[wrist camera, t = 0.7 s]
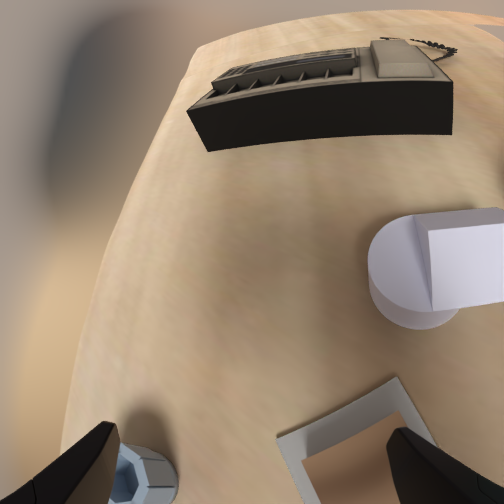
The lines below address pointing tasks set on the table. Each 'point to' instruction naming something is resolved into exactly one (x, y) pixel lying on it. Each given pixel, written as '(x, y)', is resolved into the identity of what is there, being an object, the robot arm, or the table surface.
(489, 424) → the table surface
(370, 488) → the block
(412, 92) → the fax machine
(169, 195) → the table surface
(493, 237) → the wedge on round base
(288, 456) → the mat
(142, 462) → the grey ring collar
